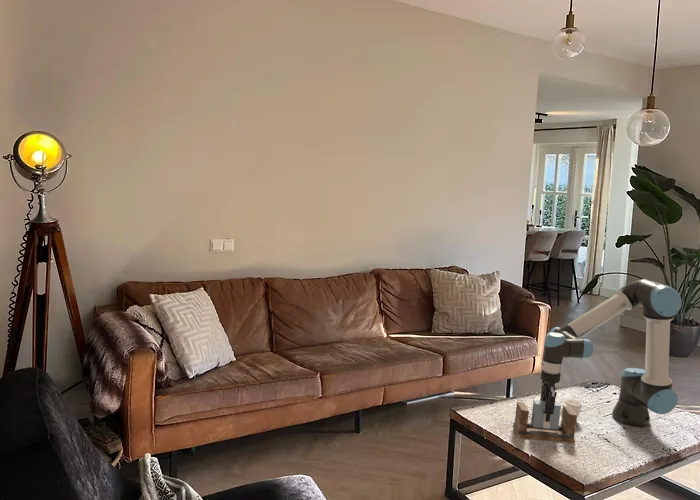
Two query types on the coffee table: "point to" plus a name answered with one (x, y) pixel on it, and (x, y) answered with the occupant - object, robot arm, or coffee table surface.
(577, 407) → the cup
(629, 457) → the coffee table surface
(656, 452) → the coffee table surface
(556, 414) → the gray rectangular block
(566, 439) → the wooden u-shaped holder
